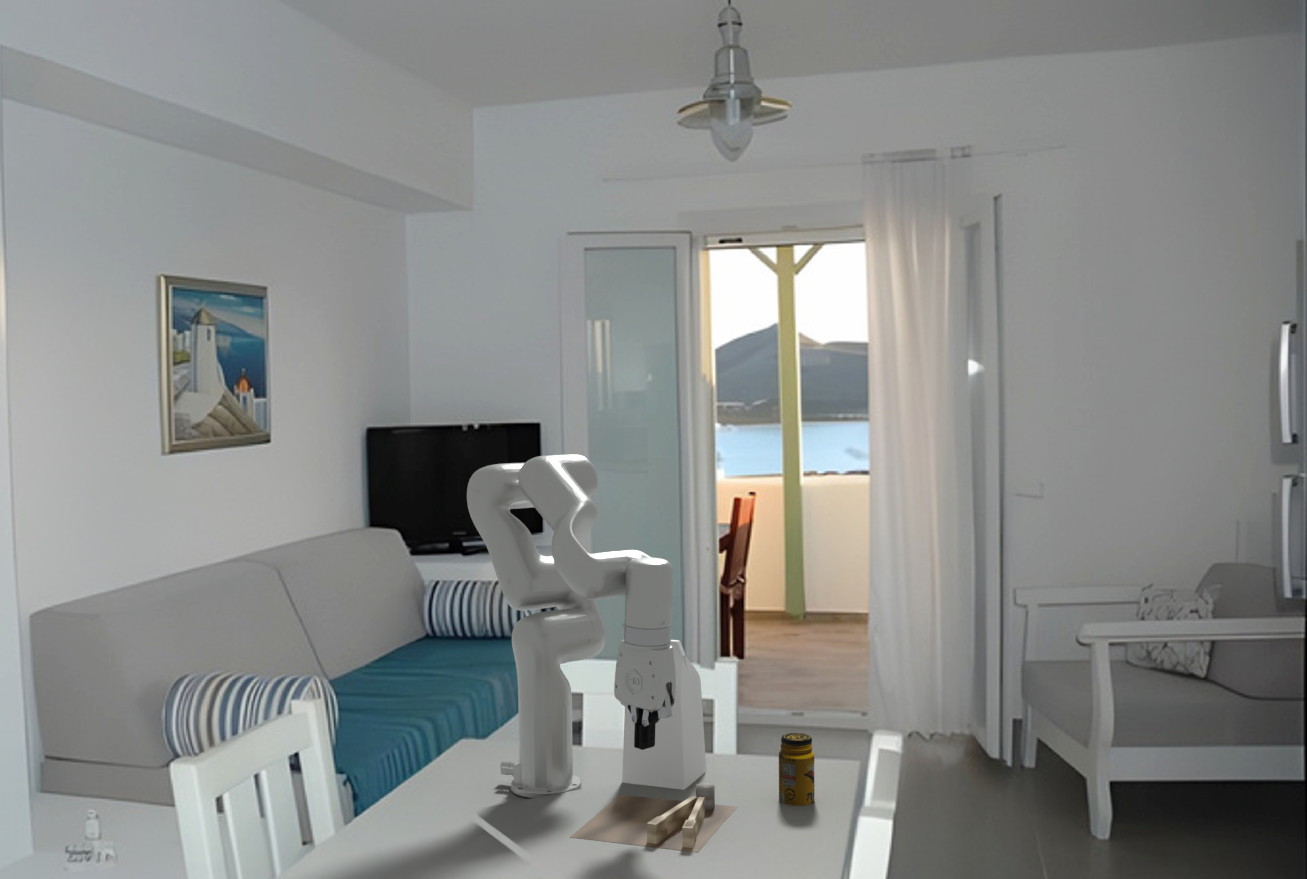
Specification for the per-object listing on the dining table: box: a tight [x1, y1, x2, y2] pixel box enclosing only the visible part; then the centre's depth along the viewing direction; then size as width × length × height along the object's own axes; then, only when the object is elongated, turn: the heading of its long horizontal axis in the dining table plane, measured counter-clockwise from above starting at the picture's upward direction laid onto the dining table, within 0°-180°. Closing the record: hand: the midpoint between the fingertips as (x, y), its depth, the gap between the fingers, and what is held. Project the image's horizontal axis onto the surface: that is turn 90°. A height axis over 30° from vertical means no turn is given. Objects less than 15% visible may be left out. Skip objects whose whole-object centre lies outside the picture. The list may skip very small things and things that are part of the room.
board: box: [569, 794, 738, 854], centre depth 201 cm, size 21×22×1 cm
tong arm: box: [647, 795, 697, 844], centre depth 198 cm, size 15×2×3 cm, turn 151°
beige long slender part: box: [682, 782, 716, 848], centre depth 199 cm, size 20×3×4 cm, turn 169°
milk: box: [621, 639, 707, 791], centre depth 224 cm, size 12×12×26 cm
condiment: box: [778, 732, 815, 807], centre depth 211 cm, size 7×8×12 cm
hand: (644, 746), depth 200 cm, fingers closed
